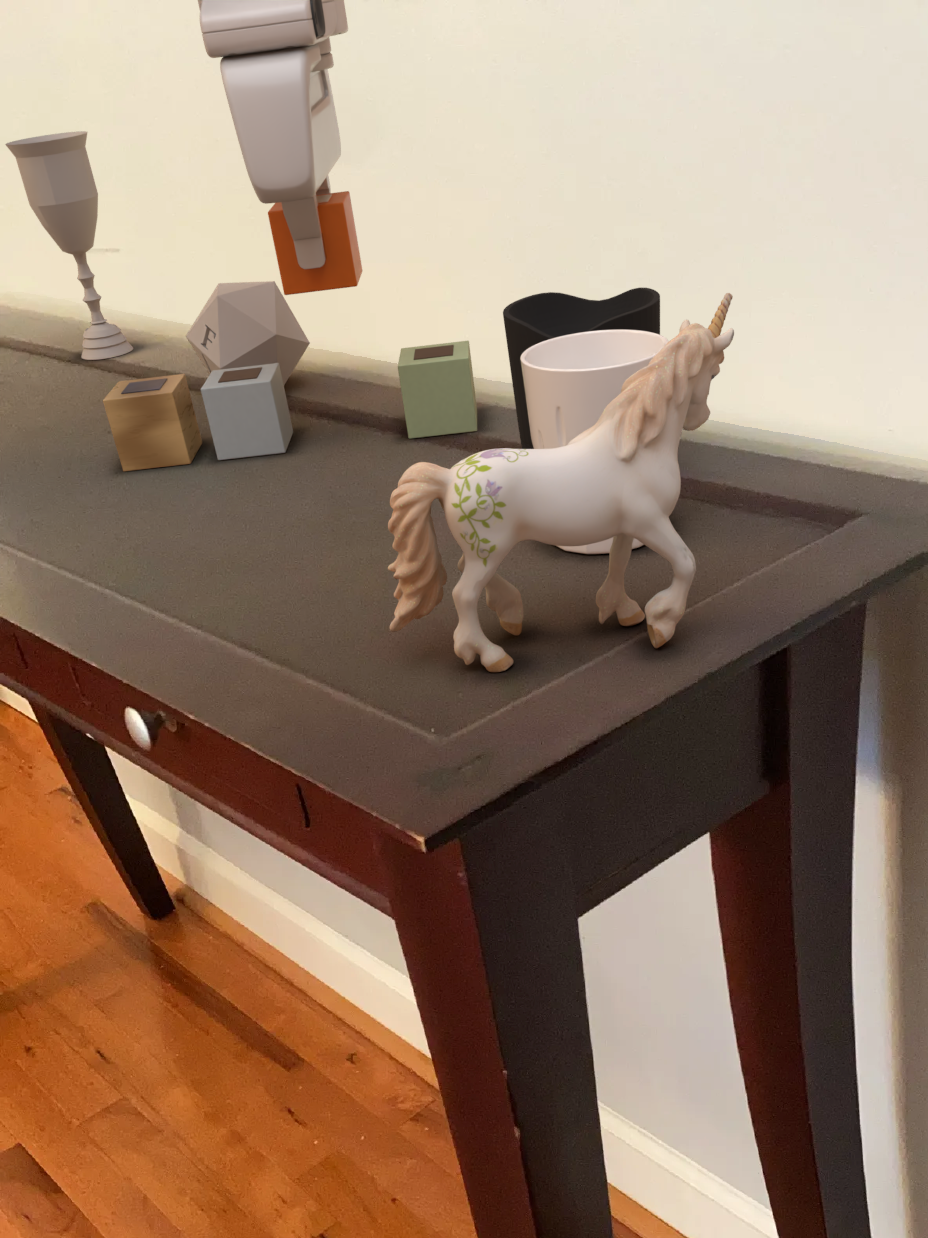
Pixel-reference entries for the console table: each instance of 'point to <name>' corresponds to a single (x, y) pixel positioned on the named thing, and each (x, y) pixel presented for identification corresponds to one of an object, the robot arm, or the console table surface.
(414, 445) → the console table surface
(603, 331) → the white cup
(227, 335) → the die
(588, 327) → the pen holder
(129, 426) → the line block
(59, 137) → the chalice
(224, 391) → the line block
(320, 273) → the orange block
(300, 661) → the console table surface
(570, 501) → the unicorn figurine
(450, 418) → the line block
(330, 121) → the robot arm
